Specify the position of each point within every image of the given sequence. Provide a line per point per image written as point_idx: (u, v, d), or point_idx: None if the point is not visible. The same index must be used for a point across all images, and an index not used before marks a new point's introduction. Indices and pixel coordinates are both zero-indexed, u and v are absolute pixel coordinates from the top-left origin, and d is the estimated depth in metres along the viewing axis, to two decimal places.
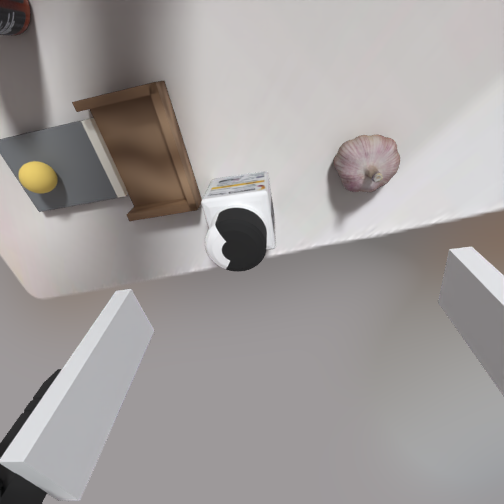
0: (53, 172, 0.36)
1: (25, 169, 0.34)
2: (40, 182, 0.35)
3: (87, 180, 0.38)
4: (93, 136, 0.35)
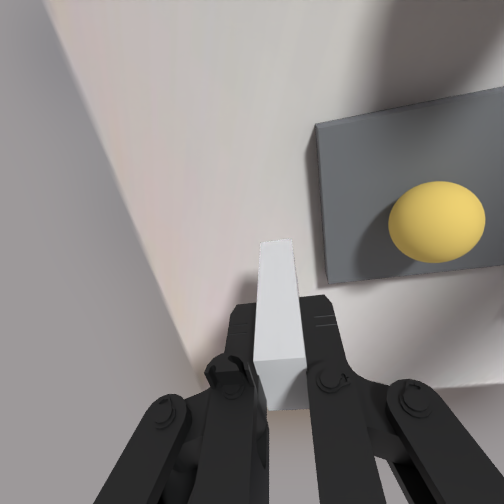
0: None
1: (456, 207, 0.12)
2: (477, 241, 0.13)
3: (502, 223, 0.16)
4: None
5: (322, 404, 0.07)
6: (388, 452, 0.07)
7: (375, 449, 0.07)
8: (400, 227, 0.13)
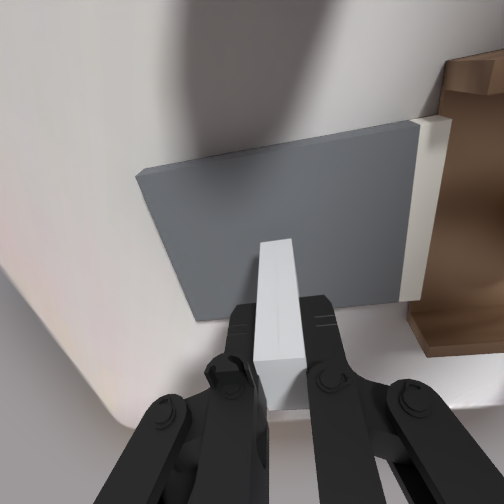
0: None
1: None
2: None
3: (345, 267, 0.16)
4: (430, 167, 0.13)
5: (322, 404, 0.07)
6: (387, 452, 0.07)
7: (374, 449, 0.07)
8: None
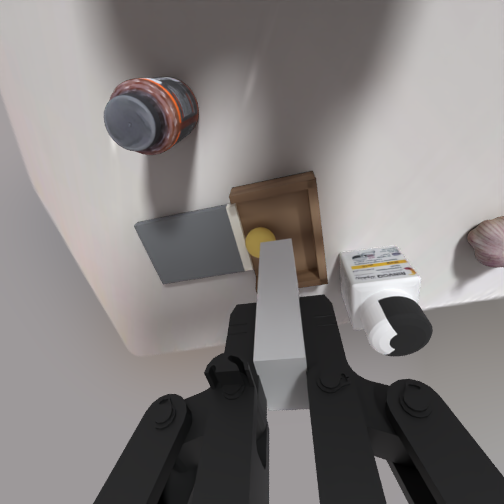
0: (274, 240, 0.36)
1: (253, 238, 0.35)
2: None
3: (218, 257, 0.40)
4: (234, 220, 0.36)
5: (322, 404, 0.07)
6: (388, 452, 0.07)
7: (375, 449, 0.07)
8: None
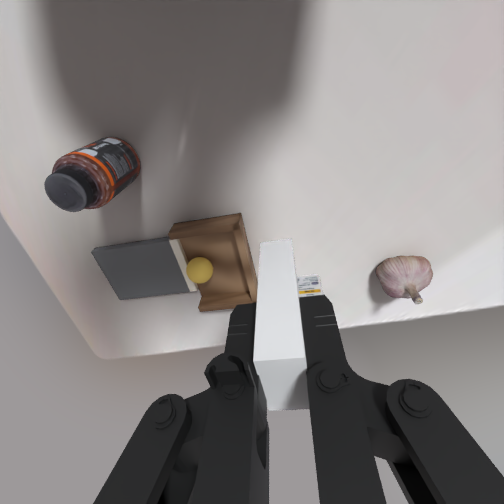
0: (211, 269, 0.42)
1: (191, 268, 0.41)
2: (200, 279, 0.41)
3: (166, 279, 0.46)
4: (177, 250, 0.42)
5: (322, 404, 0.07)
6: (387, 452, 0.07)
7: (375, 448, 0.07)
8: None
